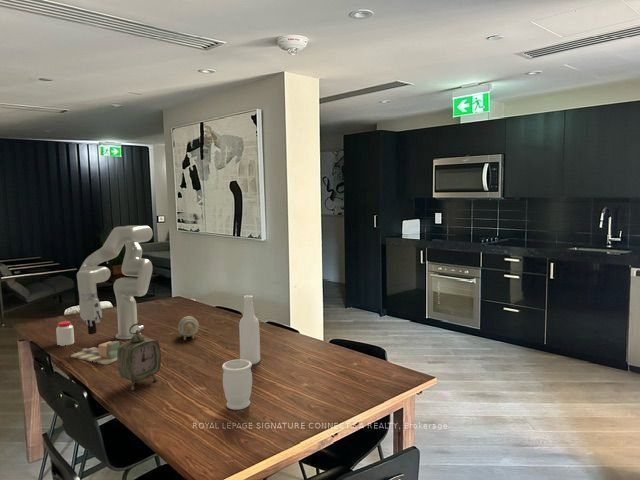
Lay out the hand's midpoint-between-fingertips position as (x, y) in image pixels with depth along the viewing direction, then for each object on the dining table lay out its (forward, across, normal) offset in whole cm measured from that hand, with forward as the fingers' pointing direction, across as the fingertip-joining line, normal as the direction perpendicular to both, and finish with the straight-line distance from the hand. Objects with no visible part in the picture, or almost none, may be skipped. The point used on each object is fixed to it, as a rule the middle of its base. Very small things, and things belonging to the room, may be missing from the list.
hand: (92, 333), depth 222 cm
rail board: (+10, -6, +2) cm, 12 cm away
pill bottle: (+11, +27, -4) cm, 30 cm away
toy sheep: (+12, -24, -38) cm, 47 cm away
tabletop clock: (+8, -49, +18) cm, 52 cm away
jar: (+8, -96, +16) cm, 97 cm away
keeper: (+8, -12, +2) cm, 15 cm away
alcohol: (+10, -75, -21) cm, 79 cm away
